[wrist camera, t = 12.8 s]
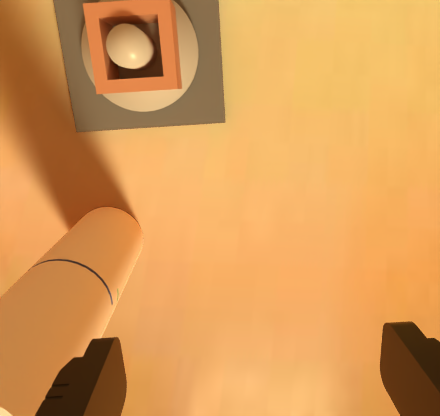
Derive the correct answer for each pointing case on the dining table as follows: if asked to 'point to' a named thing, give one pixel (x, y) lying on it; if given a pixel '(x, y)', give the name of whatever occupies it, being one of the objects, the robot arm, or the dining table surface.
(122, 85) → the collar
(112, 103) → the post plate
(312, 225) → the dining table surface
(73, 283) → the cylindrical container
